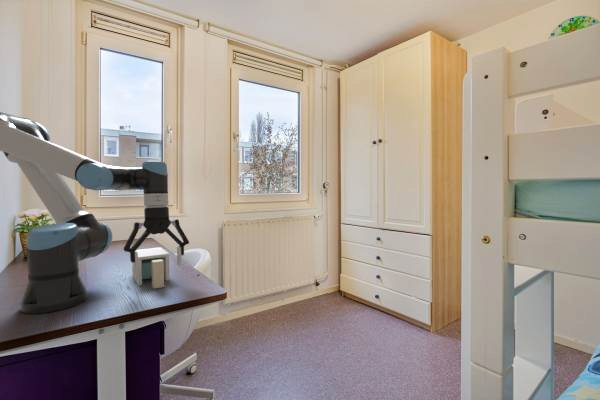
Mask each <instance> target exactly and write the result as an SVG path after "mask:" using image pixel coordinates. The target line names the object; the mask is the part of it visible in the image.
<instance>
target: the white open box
mask: <svg viewBox="0 0 600 400" xmlns="http://www.w3.org/2000/svg"><path fill="white" fill-rule="evenodd" d="M136 251H137V252H138V272H137V273H136V272H135V267H134V262H131V265H132V267H131V271H132V277H133V279H134V282H135V283H136V284H137V286H142V285H143V279H142V260H146V259H154V258H157V259H158V260H159V259H162V260H163V261H164V281H170V274H171V273H170V253H169V252H168V251H167V250H165V249H164V248H163V247H161V246H160V247H152V248H151V247H150V248H141V249H137V250H136Z"/></svg>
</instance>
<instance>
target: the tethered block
mask: <svg viewBox="0 0 600 400" xmlns="http://www.w3.org/2000/svg"><path fill="white" fill-rule="evenodd" d="M147 279H151V287H152V288H153V289H160V288H165V279H164V261H163V260H162V259H159V260H158V259H157V258H154V259H146V260H142V280H147Z"/></svg>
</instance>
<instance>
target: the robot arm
mask: <svg viewBox="0 0 600 400" xmlns="http://www.w3.org/2000/svg"><path fill="white" fill-rule="evenodd" d="M50 141H51V137H50V134H49V132H48V130H47V129H46V127H44V126H43V125H42V124H40V123H38V122H37V121H33V120H32V119H30V118H25V117H21V116H20V117H19V116H17V115H13V114H8V113H4V112H3V111H2V112H1V111H0V152H2V153H3V154H4V156H5V157H6V158H7V160H8V161H9V162H11V163H13V164H17V165H18V167H19V168H20V170H21V171H22V173H23V175H24V177H25V178H26V179H27V180H28V182H29V183H30V185H31V188H33V190H34V191H35V193H36V194H37V196H38V198H39V199H40V201H41V202H42V203H43V205H44V207H45V208H46V210H47V211H48V213H49V214H50V216H51V217H52V219H53V221H54V222H55V223H52V224H45V225H41V226H37V227H34V228H32V229H30V230H29V231H28V233H27V234H26V243H25V248H26V262H27V284H26V287H25V290H24V293H23V296H22V298H21V301H20V312H21V313H23V314H30V315H31V314H34V315H35V314H36V315H37V314H45V313H53V312H58V311H61V310H64V309H65V310H66V309H69V308H72V307H74V306H77V305H80V304H82V303H83V302H84V301H86V300H87V297H88V295H87V289H86V287H85V284H84V282H83V280H82V278H81V276H80V275H81V274H80V268H79V267H80V263H79V262H81V261H83V260H87V259H90V258H95V257H97V256H99V255H101V254H103V253H105V252H107V250H108V249H109V248H110V246H111V245H112V241H113V232H112V230H111V228H110V227H109V225H108V224H106V223H104V222H100V221H98V219H96V217H95V216H94V214H93V213H92V212H88V211H85V210H84V208H83V206H82V204H81V203H80V202H79V200H78V199H77V197H76V196H75V194H74V192H73V191H72V189H71V187H69V184H68V183H67V182H66V179H64V177H66V178H69V179H71V180H73V181H76V182H78V184H79V185H80V186H81V187H82V188H85V189H87V190H93V191H114V190H115V191H127V190H128V191H130V190H132V191H134V190H143V206H144V209H143V210H144V211H143V213H144V221H143V222H140V221H139V222H138V221H134V223H133V229H132V231H131V233H130V235H129V237H128V238H127V240H126V243H125V245H124V247H123V250H124V252H128V253H129V256H130V257H129V258H130V262H131V263H132V262H134V267H135V272H136V273H137V272H138V252H137V251H136V250H139V247H140V246H141V245H142V244H143V242H144V241H145V240H146V239H147V238H148V236H150V235H158V234H164V233H166V234H167V235H168V236H169V237H170V238H171V239H172V240H173V241H174V242H175V243H176V244H178V246H177V245H176V257H177V259H176V260H177V262H176V263H177V265H178V266H182V265H183V264H182V263H183V262H182V256H184V255H185V246H187V245H189V244H190V241H189V238H188V237H187V235H186V233H185V232H184V231H183V229H182V227H181V225H180V221H179V219H178V218H177V219H176V218H175V219H172V220H170V212H169V210H170V209H169V207H168V205H169V191H168V190H169V188H168V187H169V184H168V183H169V180H168V179H169V178H168V177H169V175H168V168H167V163H166V162H165V161H162V160H160V161H158V160H145V161H143V162H142V165H141V166H142V167H141V166H140V167H123V166H114V165H109V164H104V163H101V162H99V161H97V160H95V159H91V158H89V157H87V156H84V155H82V154H80V153H77V152H75V151H72V150H70V149H67V148H65V147H62V146H60V145H57V144H56V143H52V142H50ZM63 176H64V177H63ZM170 225H172V226H173V227H174V229H176V231H177V233H178V235H179V237H180V238H178V236H177V235H176V234H175V233H173V232H172V231H171V230H170ZM142 227H143V228H144V229H145V231H144V232H143V233H142V234H141V236H140V237H139V238H138V239H137V241H135V243H134V244H133V242H134V240H135V238H136V236H137V234H138V232H139V229H140V230H141V229H142ZM180 239H181V240H182V241H181V240H180ZM131 246H132V247H131Z"/></svg>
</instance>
